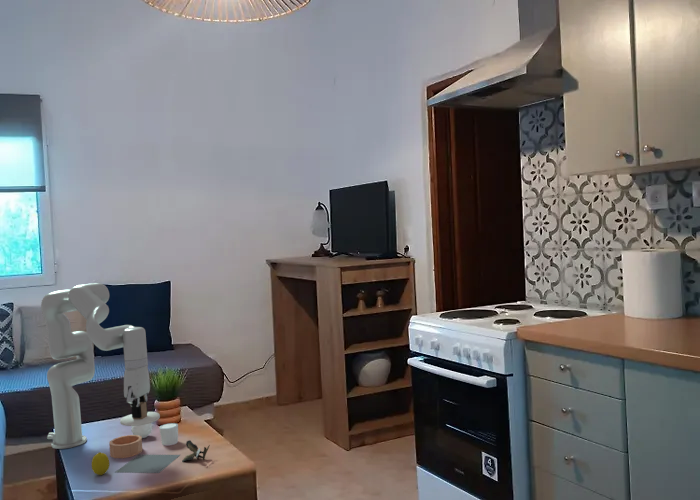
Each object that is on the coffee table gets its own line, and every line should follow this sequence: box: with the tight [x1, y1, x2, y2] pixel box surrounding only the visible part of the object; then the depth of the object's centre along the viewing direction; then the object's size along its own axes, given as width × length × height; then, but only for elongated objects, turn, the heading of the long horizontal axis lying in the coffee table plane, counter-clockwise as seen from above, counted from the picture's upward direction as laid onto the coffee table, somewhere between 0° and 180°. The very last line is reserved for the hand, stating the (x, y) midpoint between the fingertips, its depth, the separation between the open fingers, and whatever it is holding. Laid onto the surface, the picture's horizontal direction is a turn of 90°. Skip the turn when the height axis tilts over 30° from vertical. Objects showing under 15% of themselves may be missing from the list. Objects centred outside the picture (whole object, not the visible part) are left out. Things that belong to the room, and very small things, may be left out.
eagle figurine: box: [181, 439, 210, 463], centre depth 220 cm, size 8×7×9 cm
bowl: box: [108, 434, 143, 459], centre depth 231 cm, size 11×11×5 cm
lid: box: [119, 402, 161, 427], centre depth 221 cm, size 13×13×6 cm
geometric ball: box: [131, 423, 153, 439], centre depth 249 cm, size 8×8×8 cm
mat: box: [114, 454, 181, 474], centre depth 219 cm, size 16×16×1 cm
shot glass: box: [158, 422, 179, 446], centre depth 239 cm, size 7×7×7 cm
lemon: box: [91, 451, 110, 476], centre depth 211 cm, size 6×6×8 cm
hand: (139, 415), depth 221 cm, fingers closed on lid, 3 cm apart
